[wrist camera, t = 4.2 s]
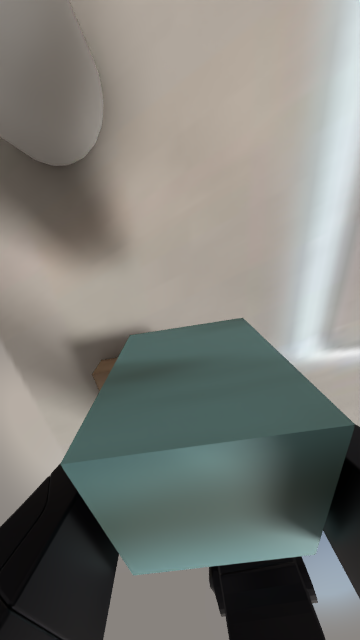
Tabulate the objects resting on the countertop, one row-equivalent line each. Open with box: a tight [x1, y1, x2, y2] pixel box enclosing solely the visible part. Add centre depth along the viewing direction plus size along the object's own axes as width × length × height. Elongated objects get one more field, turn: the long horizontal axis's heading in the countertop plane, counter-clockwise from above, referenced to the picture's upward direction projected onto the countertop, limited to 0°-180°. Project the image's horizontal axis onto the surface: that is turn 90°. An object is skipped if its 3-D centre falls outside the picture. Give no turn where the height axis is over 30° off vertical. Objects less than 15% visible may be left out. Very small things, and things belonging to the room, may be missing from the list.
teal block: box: [60, 318, 355, 575], centre depth 6 cm, size 5×5×5 cm
